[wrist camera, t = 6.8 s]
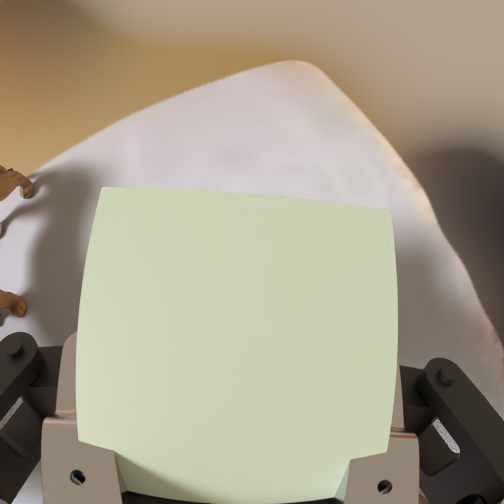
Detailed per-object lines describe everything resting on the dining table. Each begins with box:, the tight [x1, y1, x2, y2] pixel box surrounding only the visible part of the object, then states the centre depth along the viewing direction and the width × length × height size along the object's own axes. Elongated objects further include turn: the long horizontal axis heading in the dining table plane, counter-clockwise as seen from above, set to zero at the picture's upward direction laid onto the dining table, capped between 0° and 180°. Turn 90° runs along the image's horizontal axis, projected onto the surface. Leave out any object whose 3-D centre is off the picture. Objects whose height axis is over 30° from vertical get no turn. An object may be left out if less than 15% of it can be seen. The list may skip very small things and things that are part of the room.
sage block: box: [76, 187, 398, 504], centre depth 8 cm, size 4×4×10 cm
